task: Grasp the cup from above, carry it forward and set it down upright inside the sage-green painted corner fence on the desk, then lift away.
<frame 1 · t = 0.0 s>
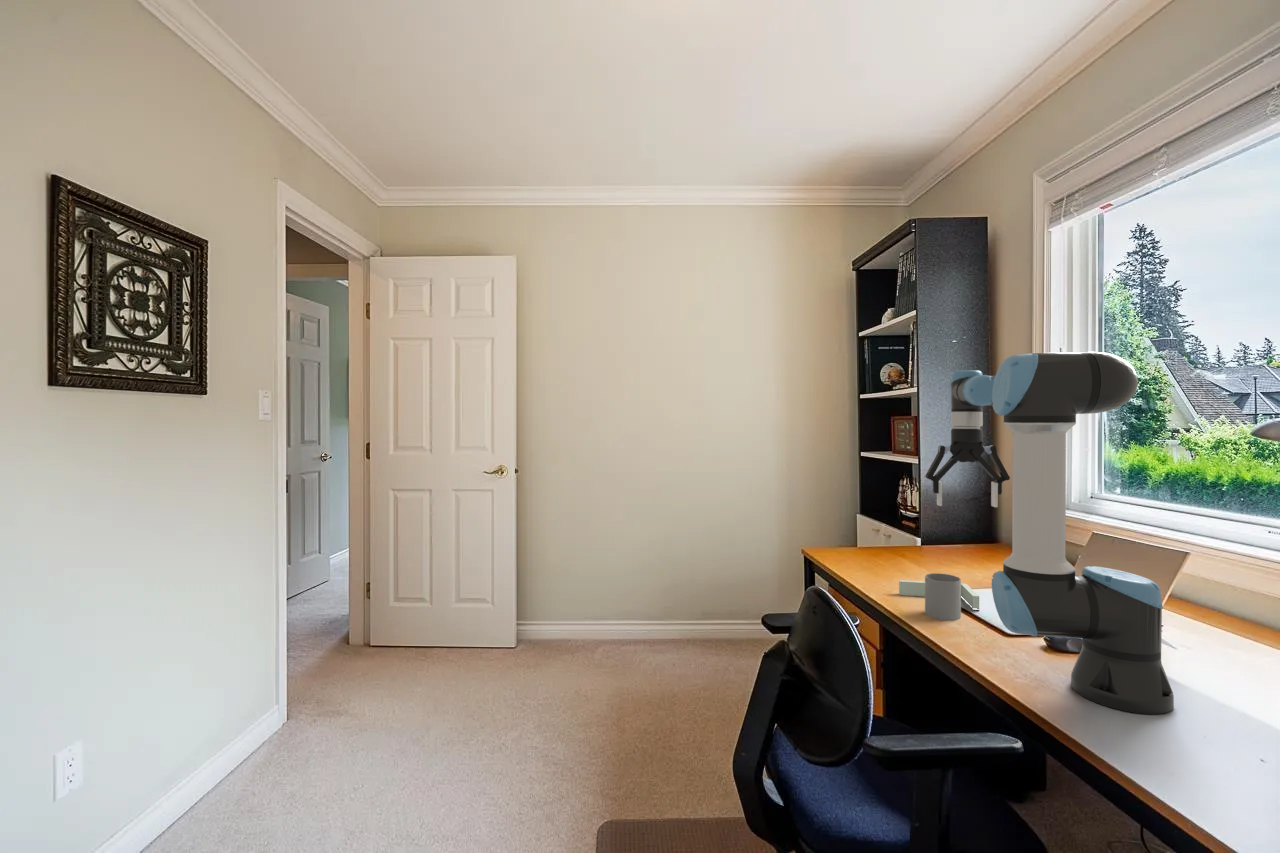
hand: (966, 506, 164), 28 cm above the table, fingers open, 13 cm apart
corner fence: (928, 595, 176), on the table
cup: (942, 615, 160), on the table
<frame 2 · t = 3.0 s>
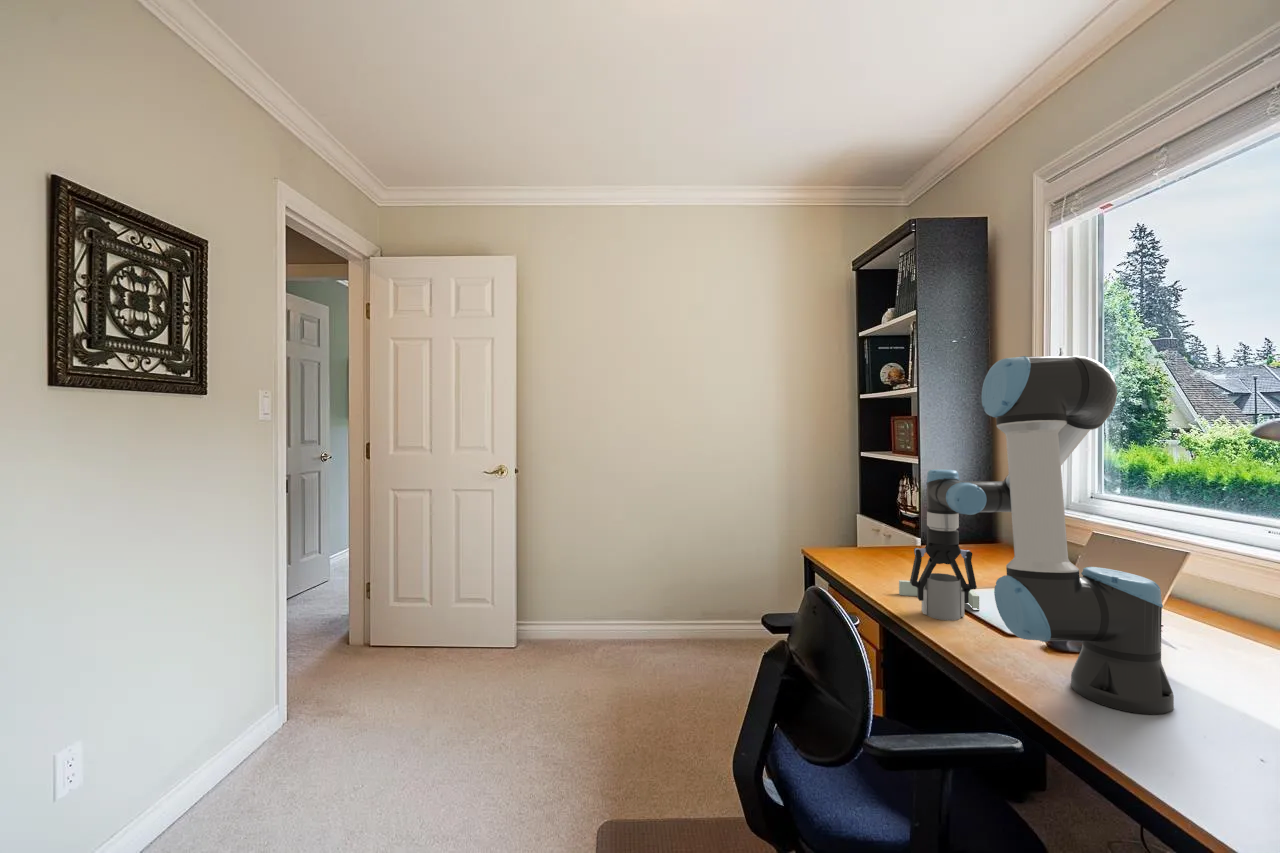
hand: (942, 613, 160), 0 cm above the table, fingers closed on cup, 8 cm apart
cup: (942, 615, 160), on the table, touching gripper
when the fingers open (2 cm above the table, at t = 8.1 s): cup drops 1 cm, on the table.
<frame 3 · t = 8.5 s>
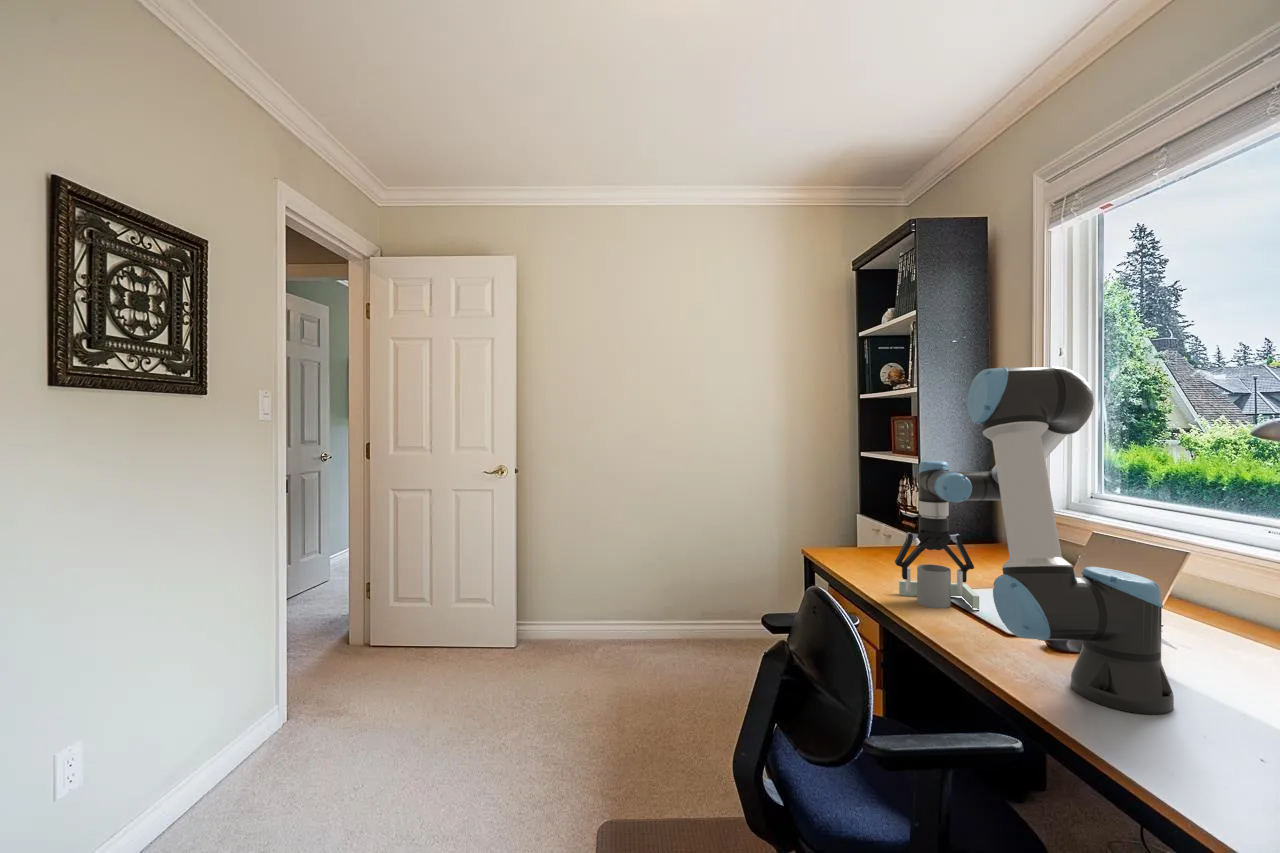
hand: (933, 592, 169), 3 cm above the table, fingers open, 13 cm apart
cup: (933, 604, 169), on the table
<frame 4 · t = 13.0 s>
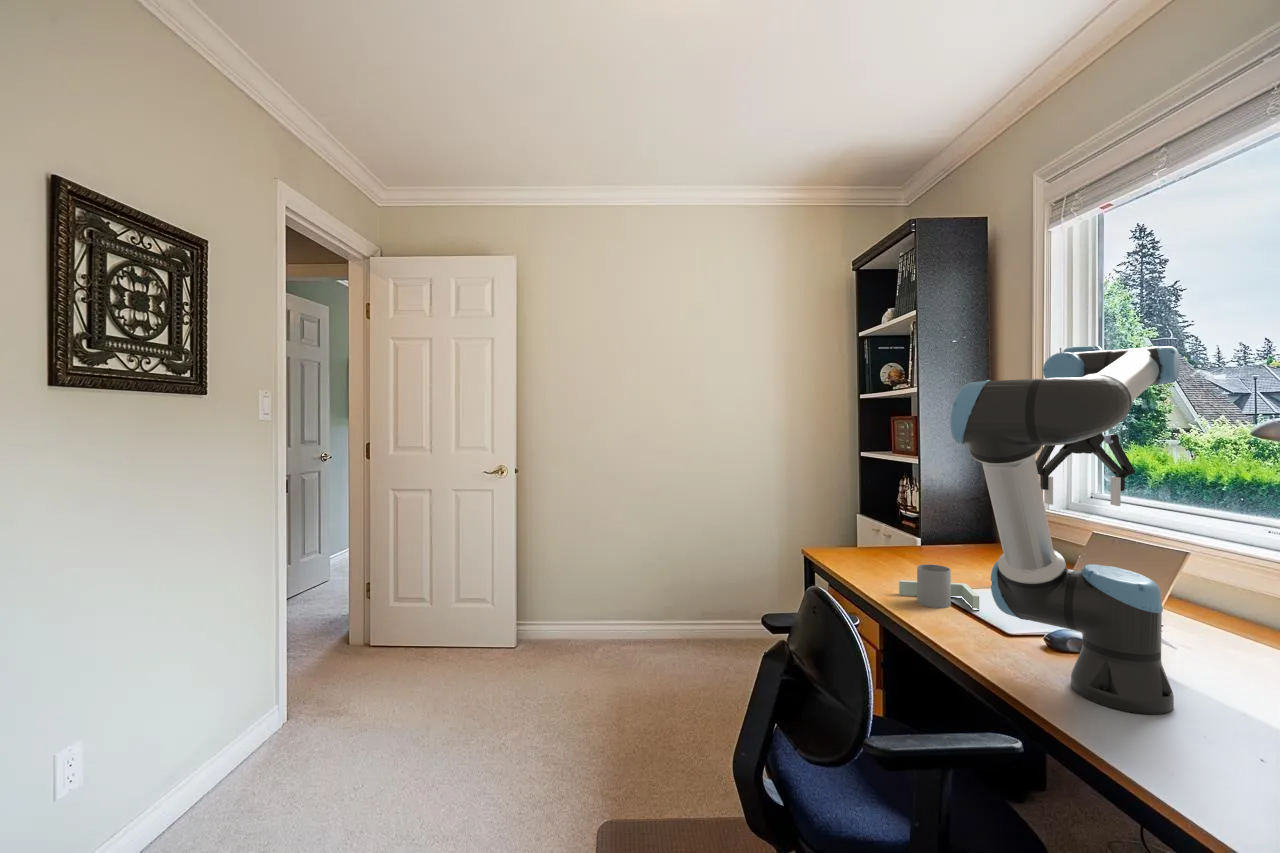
hand: (1081, 504, 141), 32 cm above the table, fingers open, 13 cm apart
nothing on the table moved.
at the end: cup inside the target area (0.6 cm from its centre), on the table; cup tilted 0°; the gripper is holding nothing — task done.
